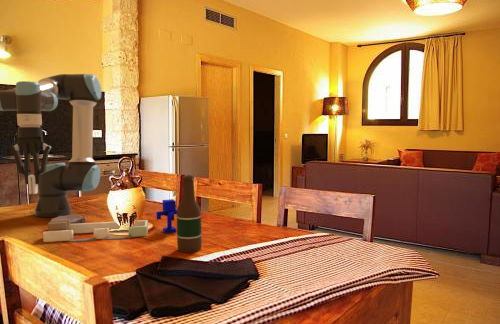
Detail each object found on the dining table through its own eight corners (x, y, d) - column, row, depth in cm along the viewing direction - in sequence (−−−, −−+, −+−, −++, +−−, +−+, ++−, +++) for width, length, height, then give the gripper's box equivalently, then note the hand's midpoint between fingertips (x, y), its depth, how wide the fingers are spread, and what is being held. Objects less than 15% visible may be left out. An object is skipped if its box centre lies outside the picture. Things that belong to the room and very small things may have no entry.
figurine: (155, 233, 150) (154, 201, 149) (166, 228, 157) (165, 198, 156) (173, 235, 148) (172, 202, 147) (183, 230, 155) (182, 199, 154)
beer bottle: (178, 246, 134) (177, 174, 132) (202, 245, 135) (200, 174, 133) (176, 253, 126) (174, 177, 124) (201, 252, 127) (200, 177, 125)
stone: (59, 233, 152) (59, 221, 152) (46, 230, 157) (46, 218, 157) (87, 226, 162) (87, 215, 161) (74, 224, 167) (74, 212, 166)
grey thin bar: (71, 240, 141) (71, 239, 141) (130, 237, 145) (130, 236, 145) (69, 242, 139) (69, 241, 139) (129, 238, 143) (129, 237, 143)
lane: (51, 234, 150) (51, 224, 149) (148, 228, 157) (147, 220, 157) (43, 242, 139) (42, 232, 139) (146, 236, 147) (146, 226, 146)
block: (53, 235, 148) (52, 219, 147) (70, 234, 149) (69, 219, 148) (48, 240, 142) (47, 223, 141) (66, 239, 143) (66, 222, 143)
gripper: (4, 126, 135) (8, 195, 137) (48, 126, 138) (51, 194, 140) (12, 126, 143) (16, 192, 145) (53, 126, 145) (56, 191, 147)
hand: (33, 193), depth 142 cm, fingers closed
